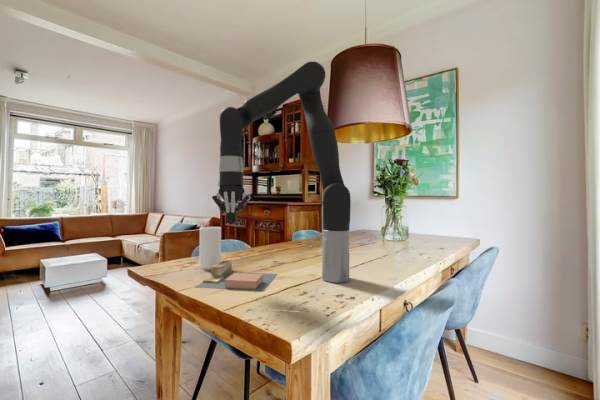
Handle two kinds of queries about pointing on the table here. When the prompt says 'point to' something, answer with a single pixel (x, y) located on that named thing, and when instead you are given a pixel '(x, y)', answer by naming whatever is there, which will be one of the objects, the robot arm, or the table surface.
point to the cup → (209, 247)
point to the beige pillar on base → (219, 272)
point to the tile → (244, 280)
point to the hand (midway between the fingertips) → (231, 224)
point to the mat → (221, 285)
